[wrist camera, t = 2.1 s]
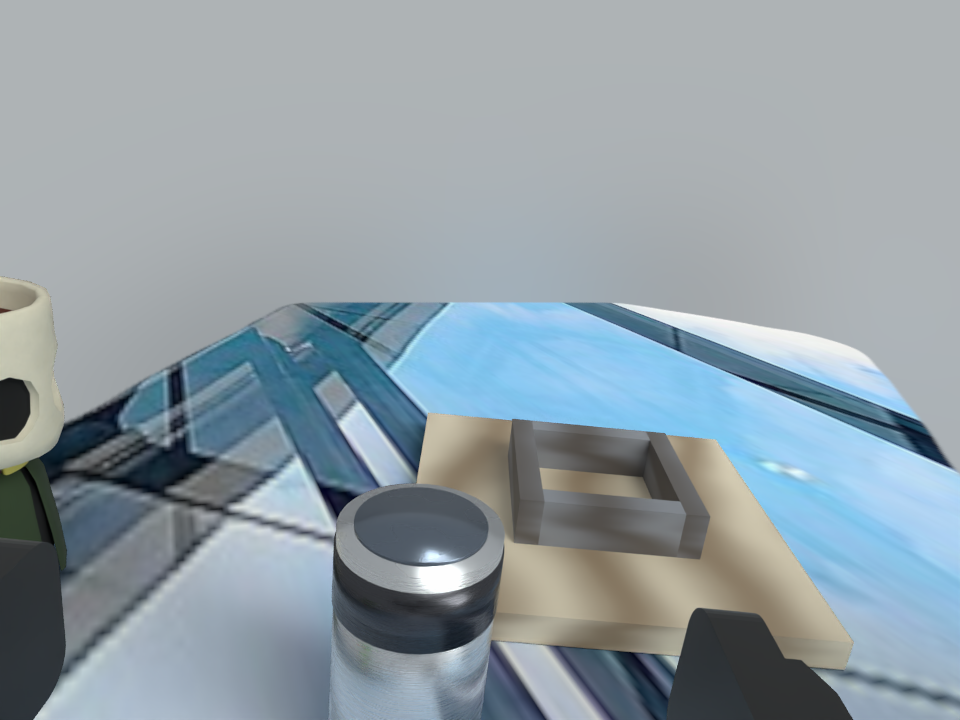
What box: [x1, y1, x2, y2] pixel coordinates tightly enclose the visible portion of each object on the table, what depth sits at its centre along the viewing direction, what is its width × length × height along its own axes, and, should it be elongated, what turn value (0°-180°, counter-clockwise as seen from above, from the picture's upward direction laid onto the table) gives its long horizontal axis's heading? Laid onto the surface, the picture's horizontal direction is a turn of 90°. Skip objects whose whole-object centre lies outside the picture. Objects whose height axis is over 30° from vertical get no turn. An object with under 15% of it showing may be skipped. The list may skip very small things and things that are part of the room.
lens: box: [328, 483, 505, 720], centre depth 24 cm, size 5×5×10 cm
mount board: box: [416, 413, 854, 670], centre depth 41 cm, size 20×20×4 cm
